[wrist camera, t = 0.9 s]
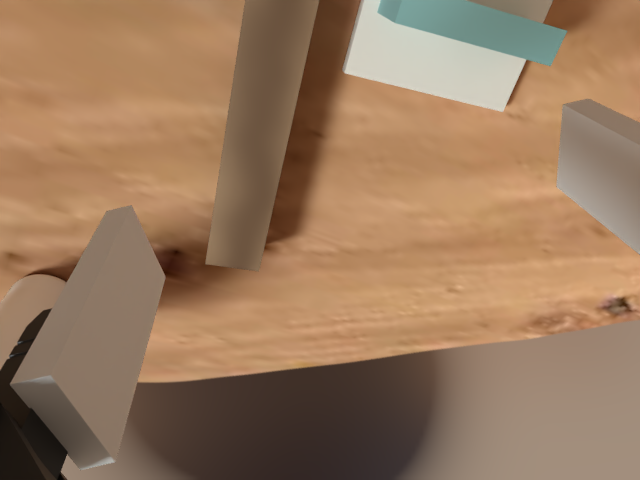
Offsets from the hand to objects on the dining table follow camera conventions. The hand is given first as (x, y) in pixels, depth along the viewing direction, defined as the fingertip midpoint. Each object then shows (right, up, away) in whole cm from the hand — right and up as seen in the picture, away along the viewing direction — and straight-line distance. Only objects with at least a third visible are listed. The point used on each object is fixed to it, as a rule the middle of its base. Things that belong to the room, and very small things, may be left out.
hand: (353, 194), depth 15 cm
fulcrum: (+7, +13, +17) cm, 23 cm away
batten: (-5, +8, +19) cm, 21 cm away
